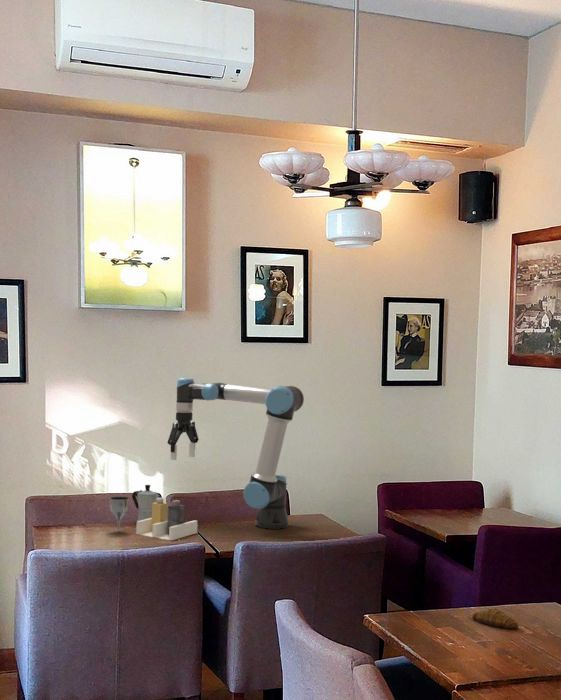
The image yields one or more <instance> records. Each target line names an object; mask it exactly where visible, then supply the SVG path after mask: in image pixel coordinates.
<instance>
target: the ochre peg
mask: <svg viewBox="0 0 561 700" xmlns="http://www.w3.org/2000/svg"><path fill="white" fill-rule="evenodd" d="M164 499H165V498H164V497H157V498H156V503H152V526H151V532H152V531H153V524H156V523H159V522H163V521H167V520H168V502H165V501H164Z"/></svg>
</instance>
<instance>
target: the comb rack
mask: <svg viewBox="0 0 561 700" xmlns="http://www.w3.org/2000/svg"><path fill="white" fill-rule="evenodd" d="M151 526H152V518H149V519H144V520H140V521H138V520H137V521H136V529H135V531H136V533H135V535H139V536H140V535H141V536H145V537H150V538H156V539H161V540H166V541H167V540H168V541H175V540H177V539H181V538H184V537H185V538H186V537H188V536H191V535H194V534H198V520H191V521H186V522H183V524H179V525H175V526H172V527H169V535H167V532H168V519H167V521H163V522H159V523H156V524H153V531H152V532H151Z"/></svg>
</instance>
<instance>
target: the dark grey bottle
mask: <svg viewBox="0 0 561 700" xmlns="http://www.w3.org/2000/svg"><path fill="white" fill-rule="evenodd" d="M180 502H181V500H178V499H175V500H172V504H169V505H167V520H168V532H167V535H169V527H172V526H175V525H179V524H183V523H184V511H185V510H184V504H183V505H182V504H181V503H180Z"/></svg>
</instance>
